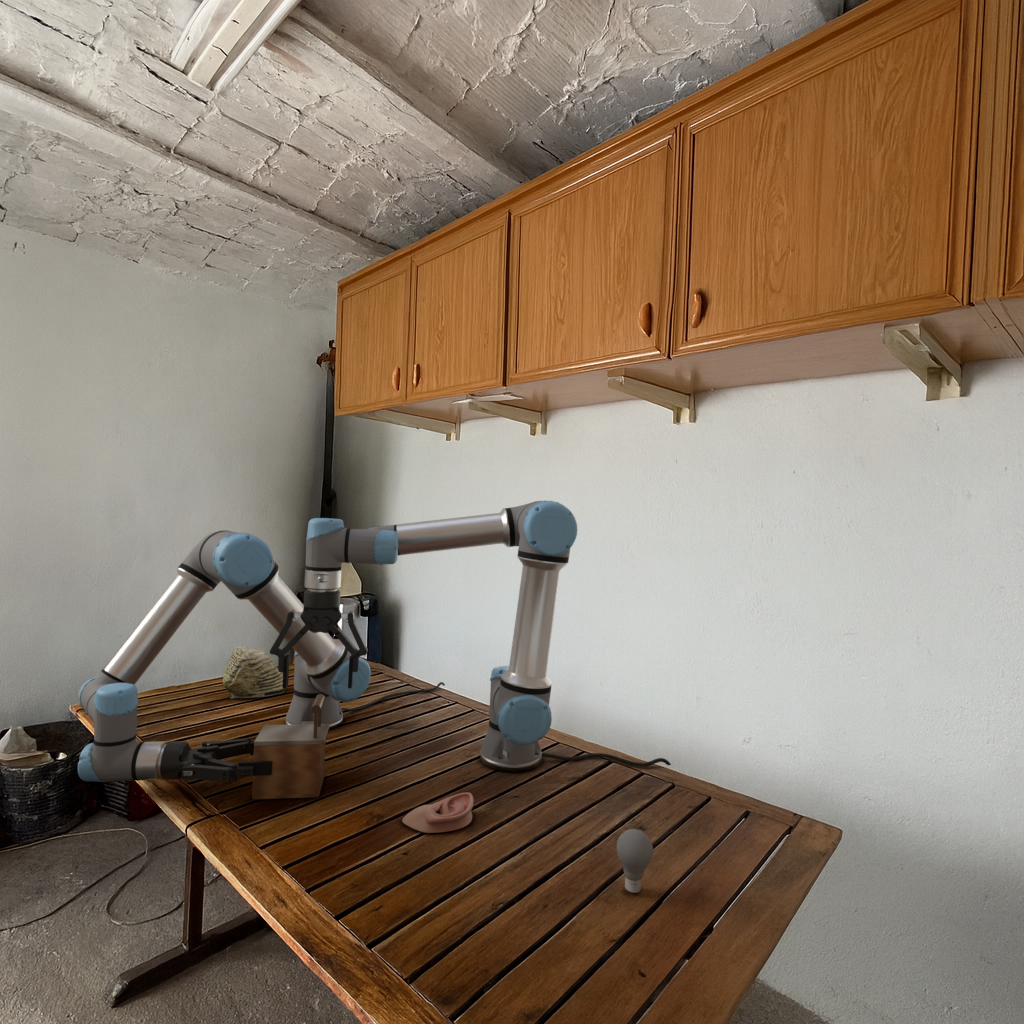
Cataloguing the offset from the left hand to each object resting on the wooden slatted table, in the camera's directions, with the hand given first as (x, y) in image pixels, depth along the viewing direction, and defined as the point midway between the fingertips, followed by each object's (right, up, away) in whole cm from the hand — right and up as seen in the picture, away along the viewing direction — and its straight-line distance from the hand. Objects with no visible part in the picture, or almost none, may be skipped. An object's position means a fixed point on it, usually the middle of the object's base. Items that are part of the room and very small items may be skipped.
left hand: (276, 757), depth 137 cm
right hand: (+9, +15, +1) cm, 17 cm away
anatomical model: (+36, -9, -10) cm, 38 cm away
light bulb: (+71, -10, -31) cm, 78 cm away
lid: (+3, +4, +1) cm, 6 cm away
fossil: (-30, -4, +62) cm, 69 cm away
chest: (+3, -7, +1) cm, 7 cm away
